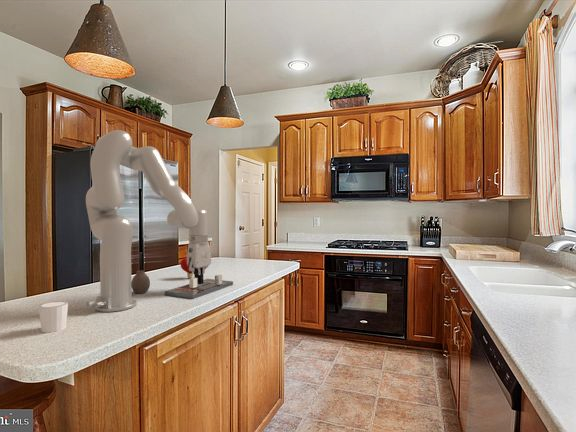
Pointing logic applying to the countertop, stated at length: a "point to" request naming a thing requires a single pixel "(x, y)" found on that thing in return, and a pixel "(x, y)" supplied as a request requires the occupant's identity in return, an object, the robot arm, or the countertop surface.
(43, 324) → the white cup
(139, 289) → the vase
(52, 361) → the countertop surface
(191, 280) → the handle
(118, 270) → the robot arm
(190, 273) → the light bulb
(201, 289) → the switch panel
